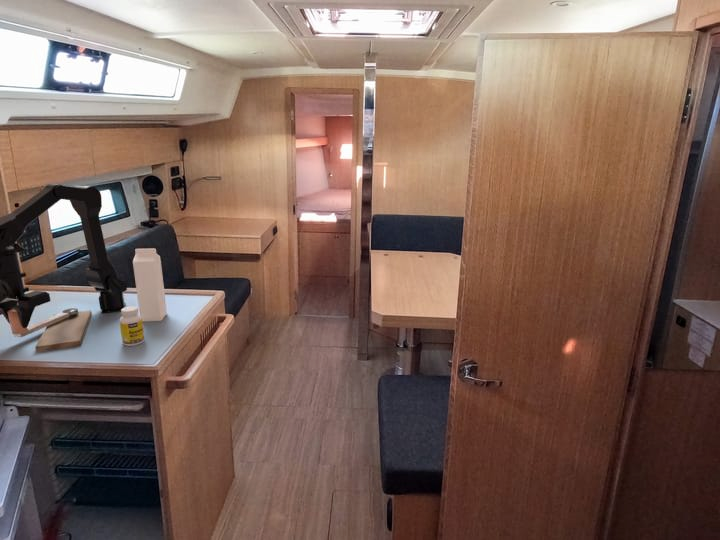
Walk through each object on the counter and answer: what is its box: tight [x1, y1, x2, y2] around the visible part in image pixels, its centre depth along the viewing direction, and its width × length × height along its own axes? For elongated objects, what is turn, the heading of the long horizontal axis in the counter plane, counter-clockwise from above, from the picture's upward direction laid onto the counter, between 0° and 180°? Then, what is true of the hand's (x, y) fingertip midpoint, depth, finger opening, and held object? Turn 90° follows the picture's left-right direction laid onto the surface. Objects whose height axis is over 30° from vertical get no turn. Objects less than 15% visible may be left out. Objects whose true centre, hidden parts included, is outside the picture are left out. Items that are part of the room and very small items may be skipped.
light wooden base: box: [35, 309, 93, 353], centre depth 131 cm, size 10×24×2 cm, turn 23°
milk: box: [132, 247, 168, 323], centre depth 139 cm, size 6×6×22 cm
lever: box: [8, 307, 79, 338], centre depth 131 cm, size 4×20×7 cm, turn 166°
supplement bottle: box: [119, 305, 145, 347], centre depth 124 cm, size 5×5×10 cm
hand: (19, 326), depth 123 cm, fingers closed on lever, 4 cm apart
